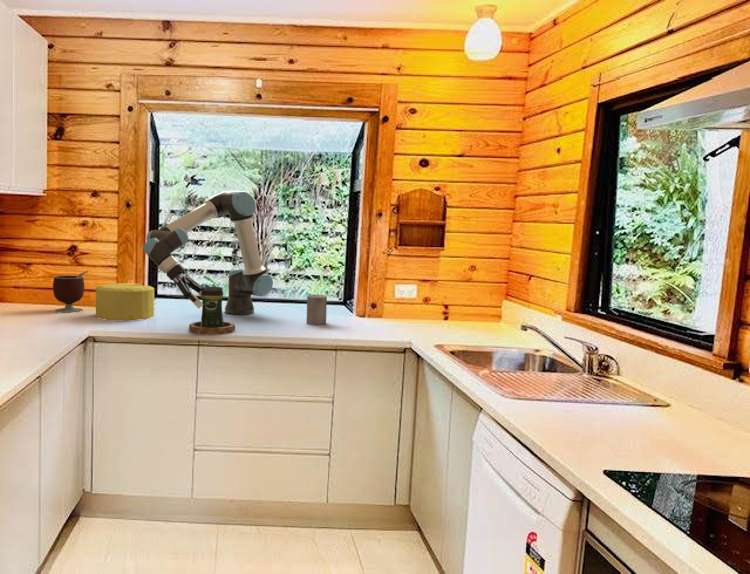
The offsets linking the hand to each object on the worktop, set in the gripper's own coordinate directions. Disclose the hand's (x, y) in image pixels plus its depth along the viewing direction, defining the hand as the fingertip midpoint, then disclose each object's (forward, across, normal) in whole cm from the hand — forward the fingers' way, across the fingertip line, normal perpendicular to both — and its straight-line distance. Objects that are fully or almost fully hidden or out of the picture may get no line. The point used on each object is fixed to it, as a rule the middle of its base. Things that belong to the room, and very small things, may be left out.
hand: (205, 304), depth 263 cm
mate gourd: (-46, -33, -63) cm, 85 cm away
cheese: (-24, -25, -41) cm, 54 cm away
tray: (+10, 0, -6) cm, 12 cm away
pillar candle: (+40, -30, +24) cm, 56 cm away
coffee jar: (+10, 0, -6) cm, 11 cm away
